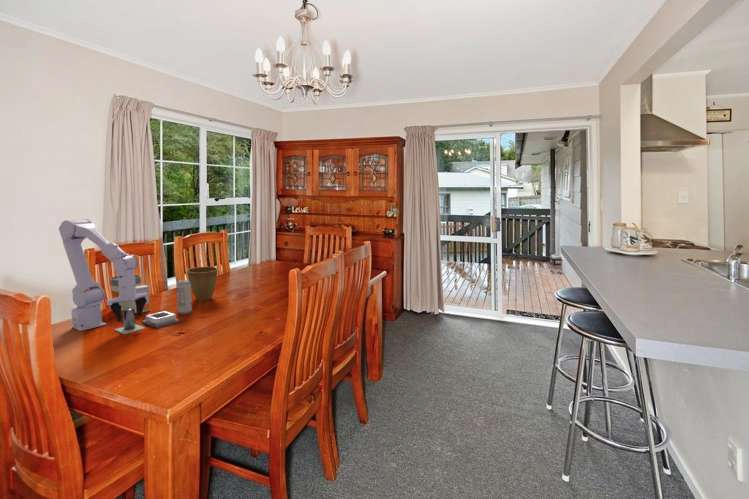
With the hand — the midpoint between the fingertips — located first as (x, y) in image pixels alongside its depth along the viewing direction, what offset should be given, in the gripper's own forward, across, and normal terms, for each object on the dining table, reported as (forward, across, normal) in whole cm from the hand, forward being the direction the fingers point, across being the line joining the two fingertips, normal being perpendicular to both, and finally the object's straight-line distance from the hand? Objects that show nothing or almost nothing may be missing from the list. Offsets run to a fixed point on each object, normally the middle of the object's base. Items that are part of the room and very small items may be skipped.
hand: (129, 318), depth 156 cm
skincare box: (+5, +15, +21) cm, 26 cm away
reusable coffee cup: (+5, +14, +32) cm, 35 cm away
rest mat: (+5, 0, 0) cm, 5 cm away
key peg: (+4, 0, 0) cm, 4 cm away
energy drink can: (+5, +26, +4) cm, 27 cm away
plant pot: (+5, +45, +18) cm, 49 cm away
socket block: (+5, +12, -1) cm, 13 cm away
